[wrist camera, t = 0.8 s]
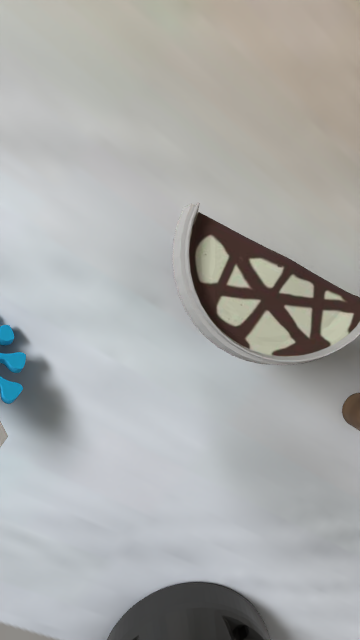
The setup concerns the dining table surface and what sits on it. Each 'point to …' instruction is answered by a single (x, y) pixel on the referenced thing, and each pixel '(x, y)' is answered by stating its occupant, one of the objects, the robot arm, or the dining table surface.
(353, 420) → the peg
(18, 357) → the gear
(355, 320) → the food container
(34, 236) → the dining table surface
